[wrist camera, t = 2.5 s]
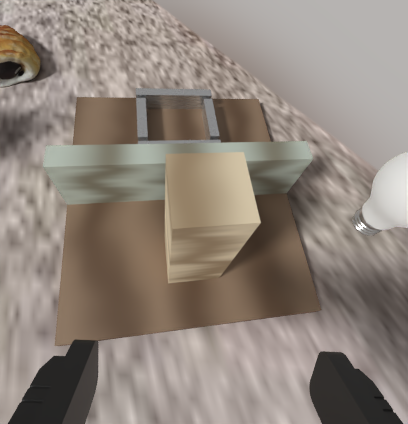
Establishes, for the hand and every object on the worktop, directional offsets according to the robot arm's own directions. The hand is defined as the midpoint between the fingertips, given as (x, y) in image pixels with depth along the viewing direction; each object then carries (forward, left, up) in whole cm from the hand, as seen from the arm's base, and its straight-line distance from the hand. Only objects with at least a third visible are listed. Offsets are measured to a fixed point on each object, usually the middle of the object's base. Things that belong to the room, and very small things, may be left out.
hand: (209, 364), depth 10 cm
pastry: (+18, -35, -15) cm, 42 cm away
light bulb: (-20, -10, -14) cm, 27 cm away
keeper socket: (-1, -23, -14) cm, 27 cm away
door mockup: (-1, -15, -14) cm, 21 cm away
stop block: (-1, -8, -13) cm, 16 cm away
